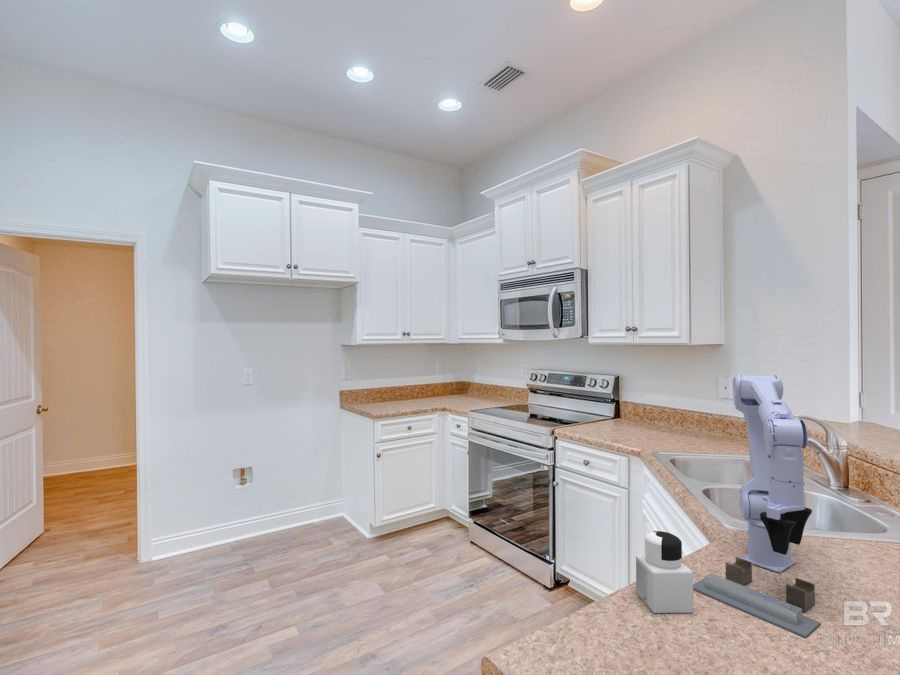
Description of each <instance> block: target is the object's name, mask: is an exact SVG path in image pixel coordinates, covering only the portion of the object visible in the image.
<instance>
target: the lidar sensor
mask: <svg viewBox="0 0 900 675" xmlns="http://www.w3.org/2000/svg"><path fill="white" fill-rule="evenodd" d="M682 543H683V542H682V540H681V539H680V537H678V536H677V535H675V534H672V533H671V532H667V531H662V530H661V531H660V530H658V531H657V530H654V531H650V532H647V533H646V534H645V536H644V554H636V555H635V592H636V594H637V595H638V596H639V597H640V599H641V600H642V601H643V602H644V604H646V606H647V607H648V608H649V609H650V611H651V612H653V614H691V613H694V590H693V584H694V572H693V571H692V570H691V569H690V568H689V567H688V566H686V565H685V564H684V563H682V562H683V548H682V546H683V544H682Z"/></svg>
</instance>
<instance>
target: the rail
mask: <svg viewBox="0 0 900 675" xmlns="http://www.w3.org/2000/svg"><path fill="white" fill-rule="evenodd" d="M703 579H704V584H705V588H708V589H710V590H712V591H715V592H717V593H720V594H722V595H724V596H727V597H729V598H732V599H734V600H736V601H739V602H741V603H744V604H746V605H748V606H751V607H753V608H756V609H758V610H760V611H763V612H765V613H767V614H770V615H772V616H775V617H777V618H779V619H782V620H784V621H787V622H789V623H791V624H794V625H796V626H797V625H798V624H799V623H801V622H802V615H803V612H802V609H801V608H799V607H796V606H794V605H791V604H789V603H786V601H784V600H780V599H778V598H776V597H773V596H770V595H768V594H765V593H763V592H761V591H758V590H755V589H752V588H750V587H747V586H746V585H745V586H742V585H740V584H737V583H735V582H732V581H730V580H727V579H726V578H724V577H721V576H719V575H716V574H714V573H711V572H710V573H708V574H706V575H705V576H703Z"/></svg>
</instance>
